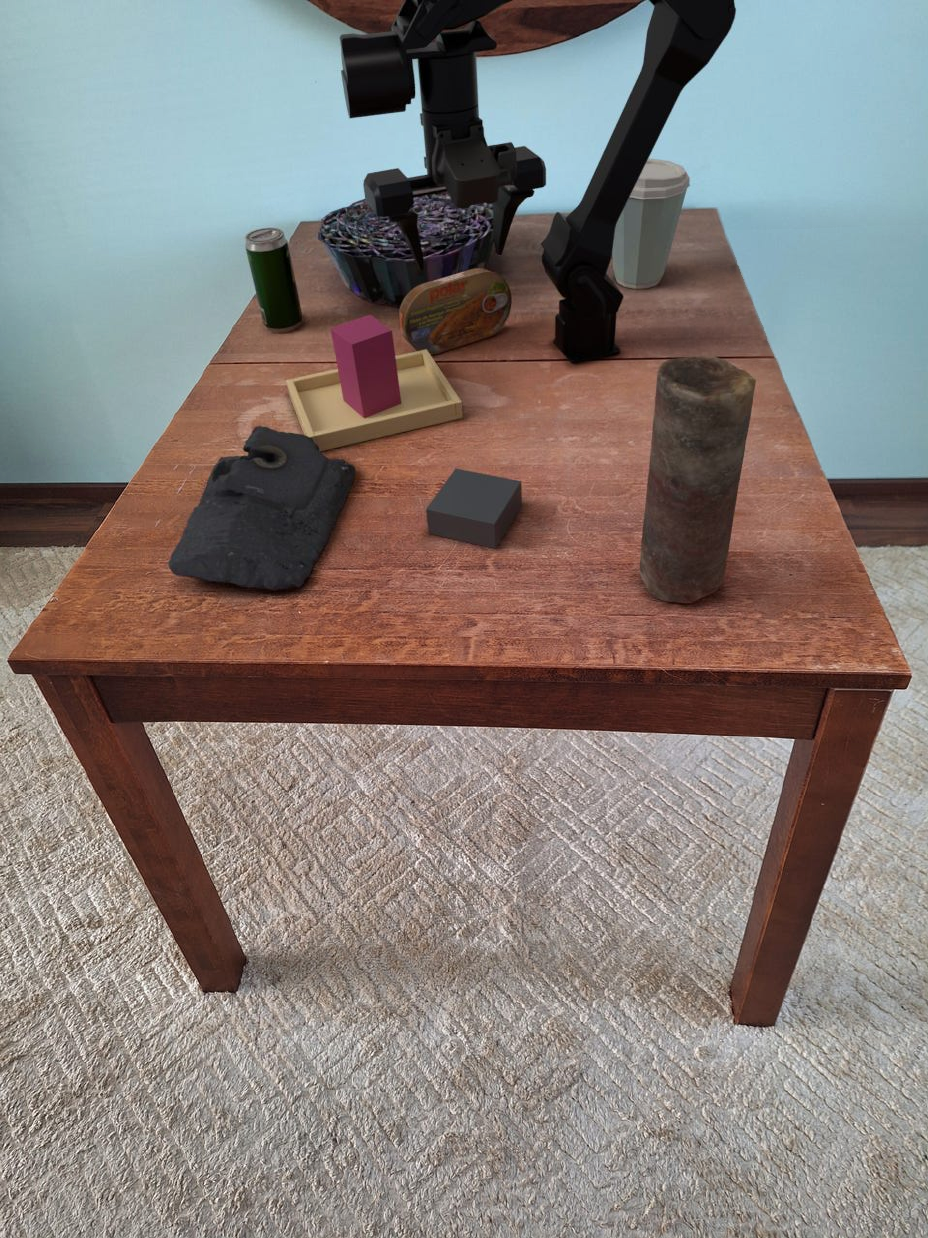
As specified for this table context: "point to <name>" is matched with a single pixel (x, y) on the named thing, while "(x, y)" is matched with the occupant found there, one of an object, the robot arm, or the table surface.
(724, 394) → the stone cylinder vase
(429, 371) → the tray
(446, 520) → the base block
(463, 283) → the tin
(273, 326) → the beer can
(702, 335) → the table surface
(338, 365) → the mulberry block
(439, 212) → the decorative bowl
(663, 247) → the disposable coffee cup
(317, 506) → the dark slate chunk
